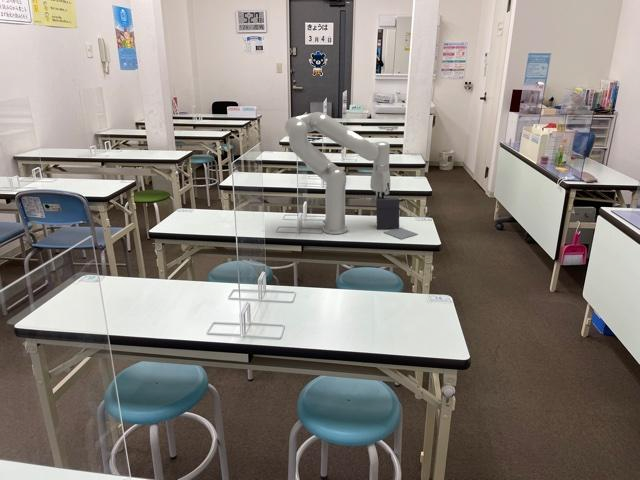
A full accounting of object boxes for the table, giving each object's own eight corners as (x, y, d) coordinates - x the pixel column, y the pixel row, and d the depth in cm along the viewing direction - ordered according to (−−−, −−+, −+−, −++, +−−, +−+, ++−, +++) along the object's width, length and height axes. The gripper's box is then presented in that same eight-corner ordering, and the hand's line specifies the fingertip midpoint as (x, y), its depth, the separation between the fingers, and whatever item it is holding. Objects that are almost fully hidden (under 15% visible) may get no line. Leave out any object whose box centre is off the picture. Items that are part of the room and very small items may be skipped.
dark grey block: (398, 226, 237) (398, 197, 233) (399, 229, 233) (399, 199, 229) (376, 227, 239) (376, 197, 234) (376, 229, 235) (376, 200, 230)
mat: (383, 232, 230) (383, 232, 230) (400, 228, 236) (400, 227, 236) (401, 239, 221) (401, 238, 221) (417, 234, 227) (417, 233, 227)
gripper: (365, 166, 234) (364, 202, 241) (386, 171, 223) (385, 209, 229) (376, 164, 238) (375, 199, 245) (397, 169, 227) (396, 206, 233)
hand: (380, 204), depth 237 cm, fingers closed
